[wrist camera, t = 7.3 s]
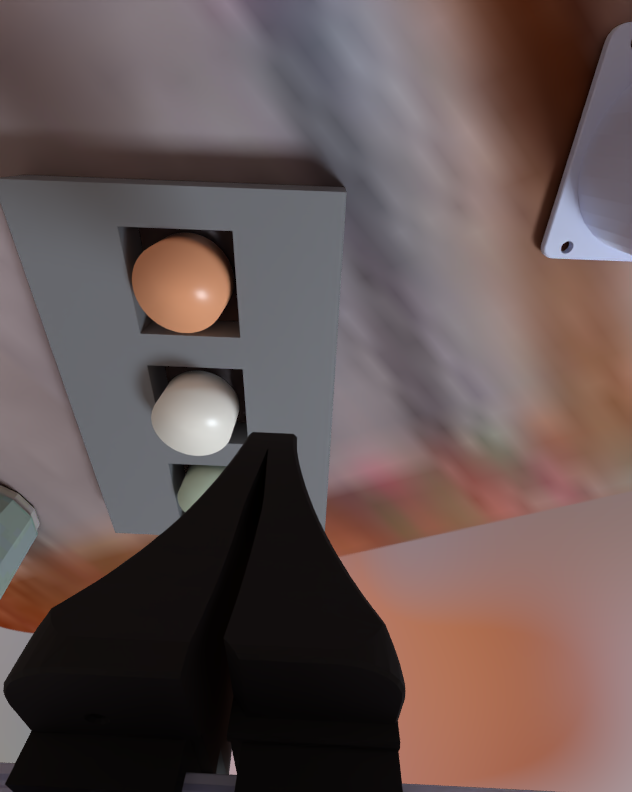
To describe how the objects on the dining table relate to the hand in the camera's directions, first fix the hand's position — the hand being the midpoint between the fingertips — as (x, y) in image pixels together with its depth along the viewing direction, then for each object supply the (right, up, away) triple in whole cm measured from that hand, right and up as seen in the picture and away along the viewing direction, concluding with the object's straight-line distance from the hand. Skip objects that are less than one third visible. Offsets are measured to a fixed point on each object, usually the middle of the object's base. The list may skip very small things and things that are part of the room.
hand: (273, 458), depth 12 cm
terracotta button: (-5, +8, +7) cm, 11 cm away
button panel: (-5, +2, +11) cm, 12 cm away
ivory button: (-5, +1, +10) cm, 11 cm away
